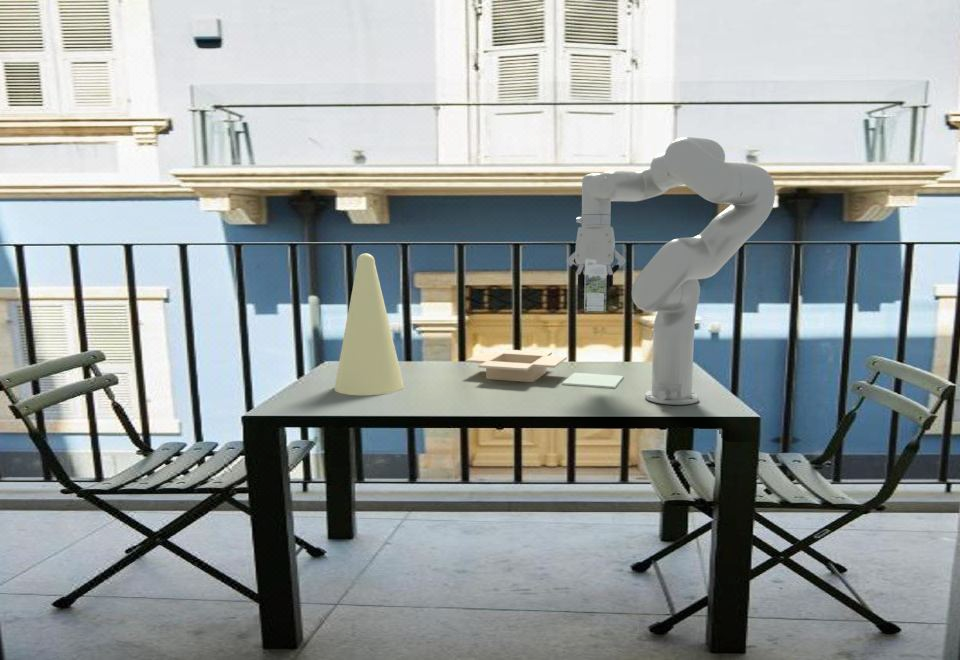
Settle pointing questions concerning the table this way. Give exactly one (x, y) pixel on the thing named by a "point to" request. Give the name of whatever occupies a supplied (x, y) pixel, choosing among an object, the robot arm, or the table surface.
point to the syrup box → (595, 286)
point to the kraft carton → (516, 364)
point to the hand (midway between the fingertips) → (595, 288)
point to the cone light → (367, 339)
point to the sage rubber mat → (593, 380)
